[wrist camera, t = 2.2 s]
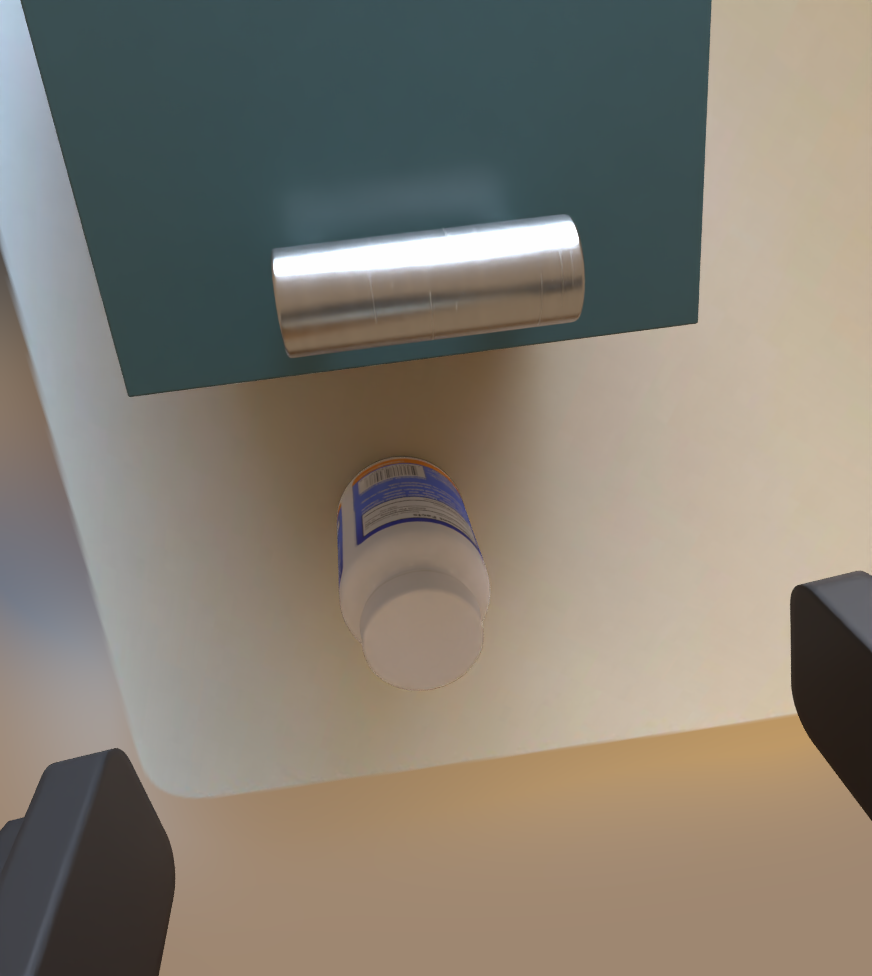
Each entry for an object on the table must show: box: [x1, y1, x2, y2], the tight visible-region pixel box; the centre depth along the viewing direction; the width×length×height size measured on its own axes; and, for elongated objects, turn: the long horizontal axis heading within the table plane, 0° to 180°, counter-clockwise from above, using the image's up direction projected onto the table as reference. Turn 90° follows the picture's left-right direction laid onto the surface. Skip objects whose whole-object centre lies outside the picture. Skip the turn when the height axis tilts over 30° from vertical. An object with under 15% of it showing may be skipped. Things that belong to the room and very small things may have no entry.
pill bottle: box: [337, 457, 490, 690], centre depth 31 cm, size 5×5×10 cm
